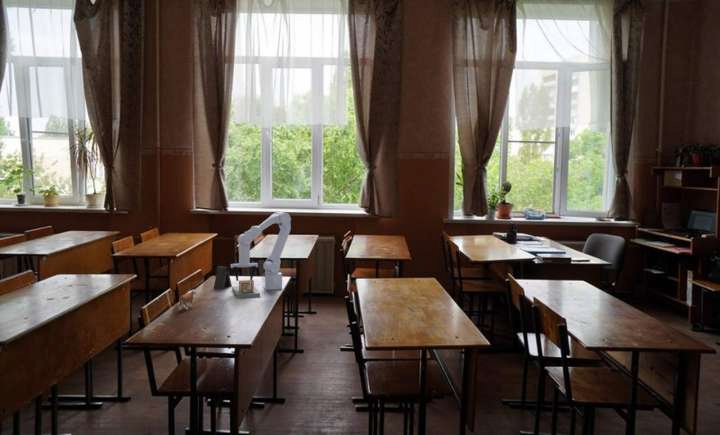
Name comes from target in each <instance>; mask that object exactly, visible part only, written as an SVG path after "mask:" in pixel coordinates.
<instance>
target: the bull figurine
mask: <svg viewBox="0 0 720 435" xmlns="http://www.w3.org/2000/svg"><path fill="white" fill-rule="evenodd" d="M195 296H198V292H197V291H196V290H195V289H192V290H191V289H190V290H189V291H188V292H185V294H182V295H181V296H179V298H178V301H179V306H178V307H179V308H178V309H179V311H182V306H183V308H184V309H185V310H189V308H192V307H193V306H192V303H193V299H194V297H195ZM188 307H189V308H188Z"/></svg>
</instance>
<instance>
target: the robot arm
mask: <svg viewBox="0 0 720 435" xmlns="http://www.w3.org/2000/svg"><path fill="white" fill-rule="evenodd" d="M291 221H292V218H291V216H290V214H289V213H288V212H284V211H275V212H274V213H273V214H271V215H270V216H269V217H268V218H267V219H265V220H264V221H262V223H260V224H259V225H252V226H251V227H250V229H249V230H246V231H244V233H241V234H239V235H238V237H237V240H236V241H237V242H238V246H239V247H238V253H239V254H238V263H231V264H230V268H231V269H232V270H233V273H234V275H235V280H236V282H239V268H249V270H250V272H249V273H250V275H249V280H253V277H254V274H255V272H256V270H257V268H259V265H258V264H259V263H258V262H250V260H251V258H250V256H251V255H250V251H251V250H250V249H251V248H250V246H251V244H252V241H253V240H255V239H256V238H258V237H259V236H260V235H262V231H264V230H265V229H267V228H268V227H270V226H272V225H273V224H277V225H278V227H279V229H280V230H279V233H278V235H277V238H276V241H275V244H274V245H273V249H272V251H271V254H270V255H269V256H268V257H267V258H266V260H265V261H264V262H263V269H264V270H265V271H264V277H265V278H264V285H263V288H264V289H265V290H267V291H268V290H269V291H270V290H272V291H273V290H282V289H283V273H282V272H279V271H280V270H281V263H282V262H281V257H282V256H281V255H282V253H283V251H284V248H285V246H286V243H287V241H288V237H289V235H290V232H291V229H292V227H291Z"/></svg>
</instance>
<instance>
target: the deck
mask: <svg viewBox="0 0 720 435" xmlns="http://www.w3.org/2000/svg"><path fill="white" fill-rule="evenodd" d="M231 290H232V292H233V294H234V296H235V297H236V298H237V299H245V298H246V299H247V298H249V299H250V298H260V297H261V292H260V291H259V290H258V289H257V288H256V286H254V291H250V292H243V291H239V285H237V286H231Z"/></svg>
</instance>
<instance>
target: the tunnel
mask: <svg viewBox="0 0 720 435" xmlns="http://www.w3.org/2000/svg"><path fill="white" fill-rule="evenodd" d="M242 283H250V284H251V291H254V287H255V281H254V280H253V279H252V280H250V279H242V280H240V279H238V286H239V291H242Z"/></svg>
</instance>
